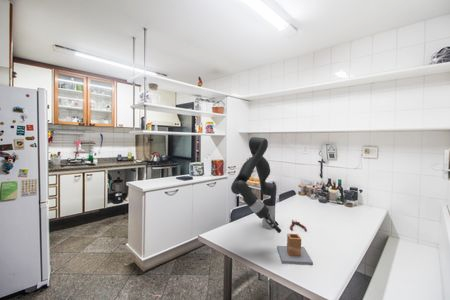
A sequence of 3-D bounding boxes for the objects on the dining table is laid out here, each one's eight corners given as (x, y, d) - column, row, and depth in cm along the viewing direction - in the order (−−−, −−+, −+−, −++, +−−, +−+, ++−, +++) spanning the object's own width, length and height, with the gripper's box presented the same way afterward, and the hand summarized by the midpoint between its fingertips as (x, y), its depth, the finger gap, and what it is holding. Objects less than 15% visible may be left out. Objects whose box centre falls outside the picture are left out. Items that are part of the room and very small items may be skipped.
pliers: (301, 221, 172) (301, 218, 172) (307, 232, 153) (307, 228, 152) (286, 220, 174) (286, 217, 174) (290, 231, 154) (290, 227, 154)
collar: (286, 250, 124) (287, 233, 123) (297, 250, 124) (298, 233, 123) (289, 256, 118) (289, 238, 117) (300, 256, 117) (301, 239, 117)
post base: (276, 247, 129) (277, 234, 129) (303, 249, 128) (304, 235, 128) (282, 263, 113) (282, 247, 113) (312, 265, 112) (313, 249, 112)
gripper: (265, 207, 113) (286, 229, 113) (262, 199, 127) (281, 219, 127) (255, 217, 114) (276, 238, 114) (253, 208, 128) (271, 227, 128)
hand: (278, 228), depth 120 cm, fingers open, 8 cm apart
